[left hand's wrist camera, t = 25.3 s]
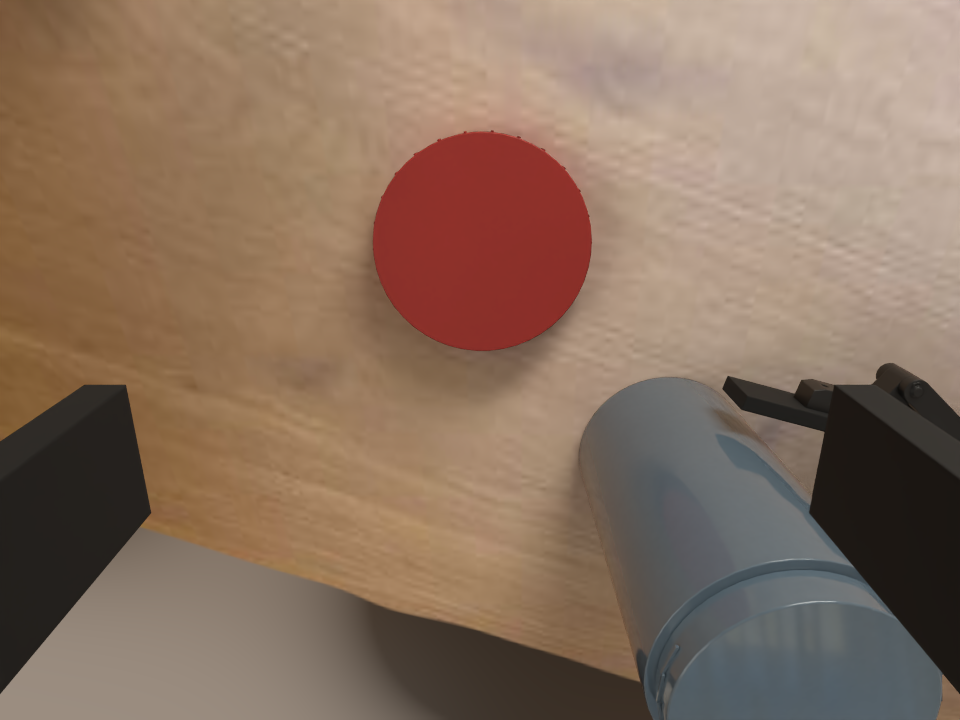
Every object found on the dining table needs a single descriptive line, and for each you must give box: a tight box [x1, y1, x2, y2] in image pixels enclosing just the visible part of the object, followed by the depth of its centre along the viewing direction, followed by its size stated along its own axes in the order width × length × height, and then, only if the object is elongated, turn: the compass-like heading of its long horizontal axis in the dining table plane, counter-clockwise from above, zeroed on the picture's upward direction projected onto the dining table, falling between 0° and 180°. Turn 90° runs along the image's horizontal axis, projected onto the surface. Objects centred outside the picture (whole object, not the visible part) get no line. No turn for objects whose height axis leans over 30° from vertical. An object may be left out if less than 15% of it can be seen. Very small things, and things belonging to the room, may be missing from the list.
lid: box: [373, 130, 592, 351], centre depth 36 cm, size 12×12×2 cm
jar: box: [579, 377, 943, 720], centre depth 32 cm, size 10×10×19 cm
